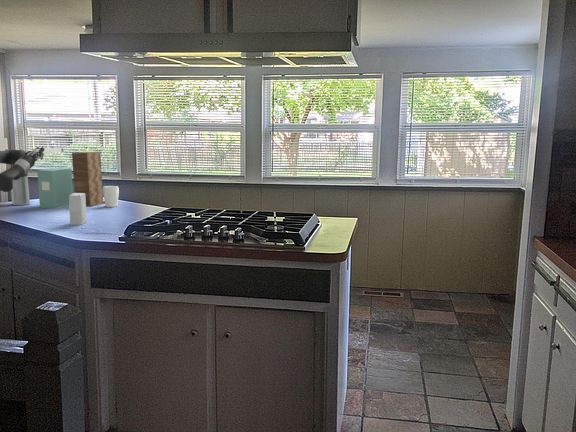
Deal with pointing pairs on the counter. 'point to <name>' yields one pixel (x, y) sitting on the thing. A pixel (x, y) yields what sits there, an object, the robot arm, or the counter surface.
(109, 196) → the cup
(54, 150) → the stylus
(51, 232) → the counter surface
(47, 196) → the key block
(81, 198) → the skincare box
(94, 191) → the stand
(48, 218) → the counter surface
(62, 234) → the counter surface
